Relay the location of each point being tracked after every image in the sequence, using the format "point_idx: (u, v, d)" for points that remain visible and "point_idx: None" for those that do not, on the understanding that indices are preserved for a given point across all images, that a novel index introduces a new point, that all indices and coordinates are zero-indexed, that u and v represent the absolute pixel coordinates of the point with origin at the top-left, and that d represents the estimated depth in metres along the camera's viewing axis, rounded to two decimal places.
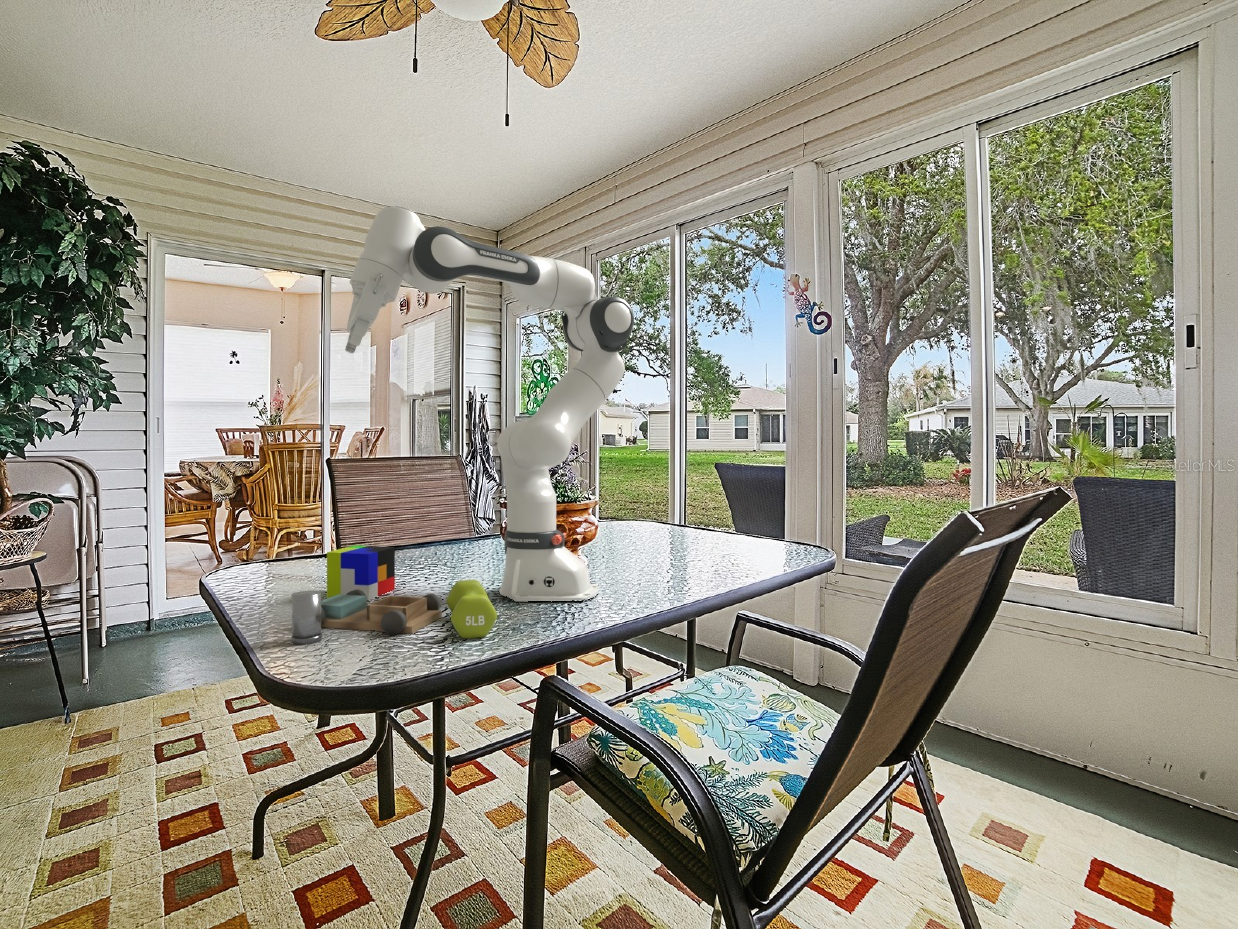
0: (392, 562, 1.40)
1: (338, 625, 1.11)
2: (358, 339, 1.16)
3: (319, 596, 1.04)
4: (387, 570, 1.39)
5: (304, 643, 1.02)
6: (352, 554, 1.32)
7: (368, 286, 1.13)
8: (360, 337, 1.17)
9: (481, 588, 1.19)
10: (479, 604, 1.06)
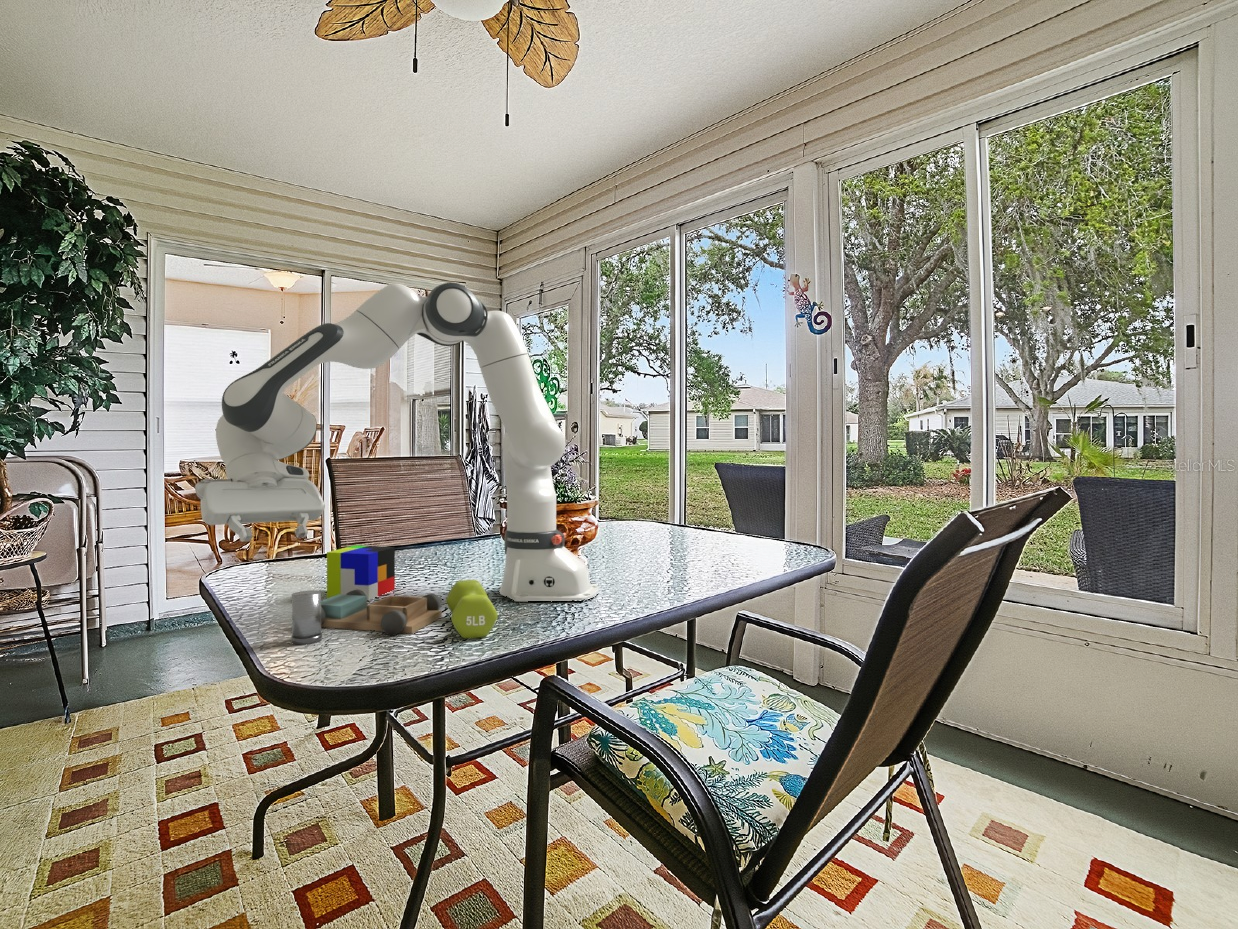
0: (392, 562, 1.40)
1: (338, 625, 1.11)
2: (241, 533, 1.08)
3: (319, 596, 1.04)
4: (387, 570, 1.39)
5: (304, 643, 1.02)
6: (352, 555, 1.32)
7: None
8: (241, 530, 1.08)
9: (481, 588, 1.19)
10: (480, 604, 1.06)
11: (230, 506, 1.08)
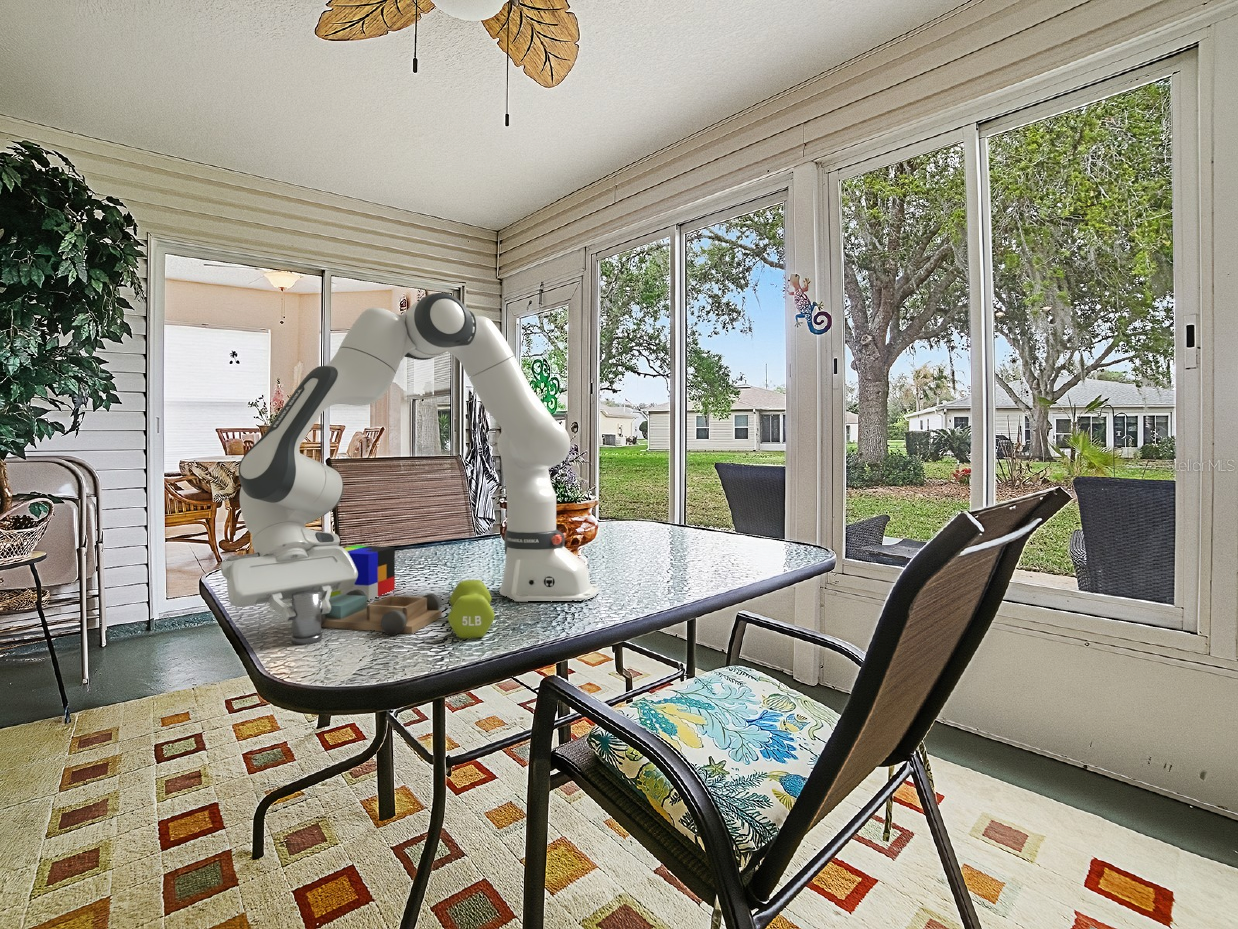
0: (392, 562, 1.40)
1: (338, 625, 1.11)
2: (284, 612, 1.01)
3: (319, 596, 1.04)
4: (387, 570, 1.39)
5: (304, 643, 1.02)
6: (352, 555, 1.32)
7: (227, 579, 1.01)
8: (283, 609, 1.01)
9: (484, 588, 1.19)
10: (476, 604, 1.06)
11: (259, 586, 1.00)
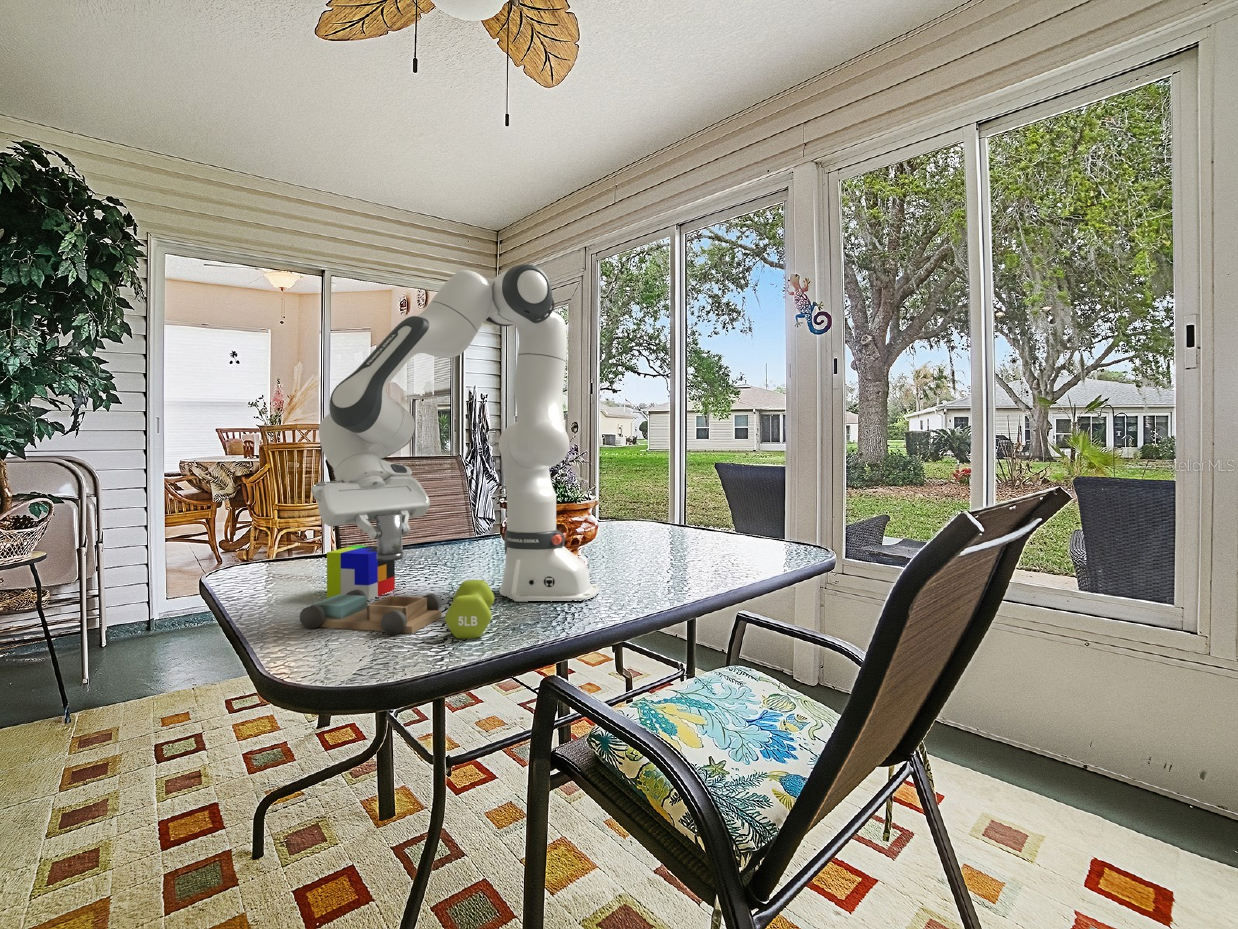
0: (392, 562, 1.40)
1: (338, 625, 1.11)
2: (370, 531, 1.11)
3: (400, 517, 1.13)
4: (387, 570, 1.39)
5: (389, 559, 1.11)
6: (352, 554, 1.32)
7: (317, 502, 1.11)
8: (370, 528, 1.11)
9: (486, 588, 1.19)
10: (472, 604, 1.05)
11: (348, 507, 1.10)
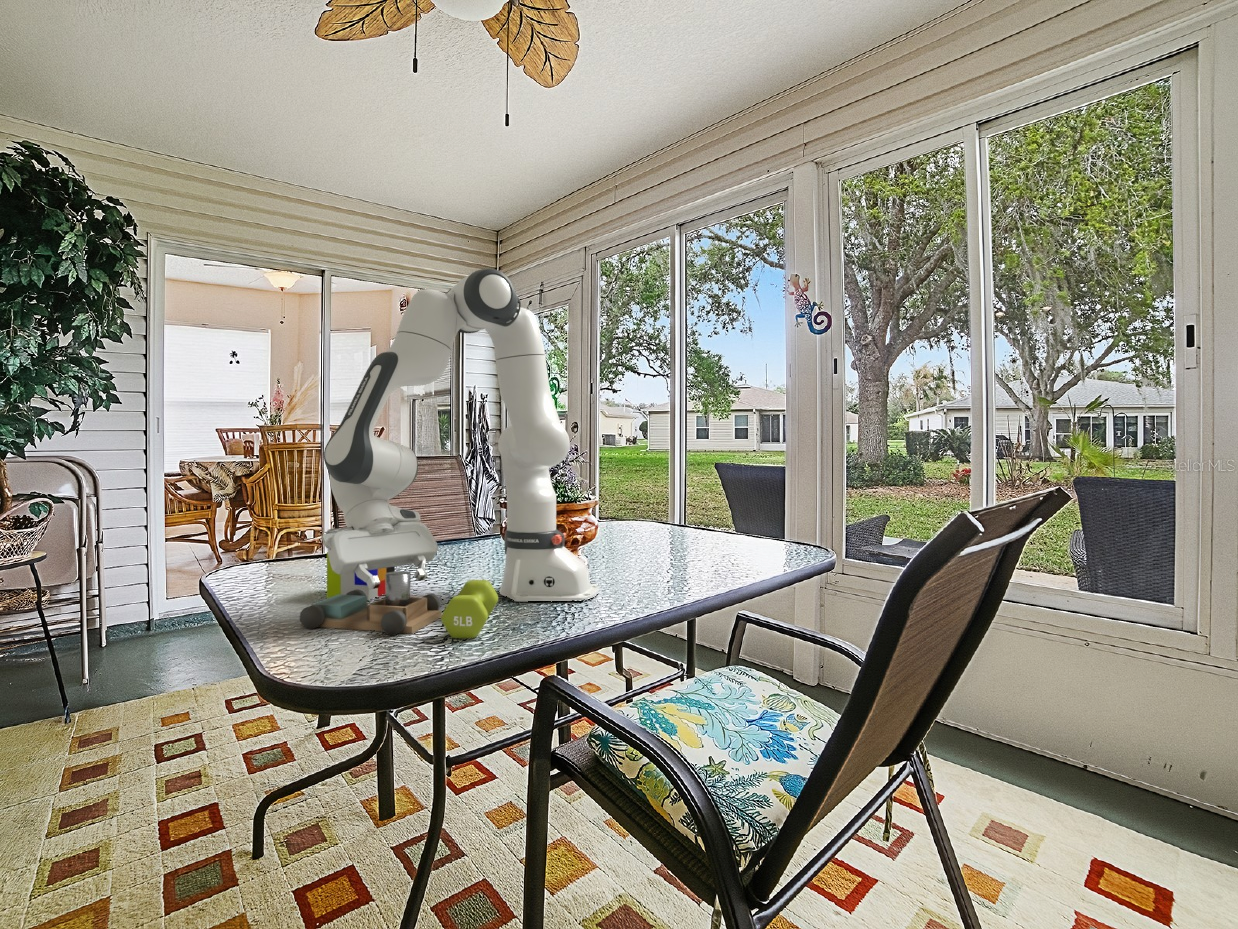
0: None
1: (338, 625, 1.11)
2: (370, 581, 1.11)
3: (409, 576, 1.15)
4: (387, 570, 1.39)
5: None
6: None
7: (328, 550, 1.12)
8: (369, 578, 1.11)
9: (489, 589, 1.18)
10: (467, 604, 1.05)
11: (357, 555, 1.11)
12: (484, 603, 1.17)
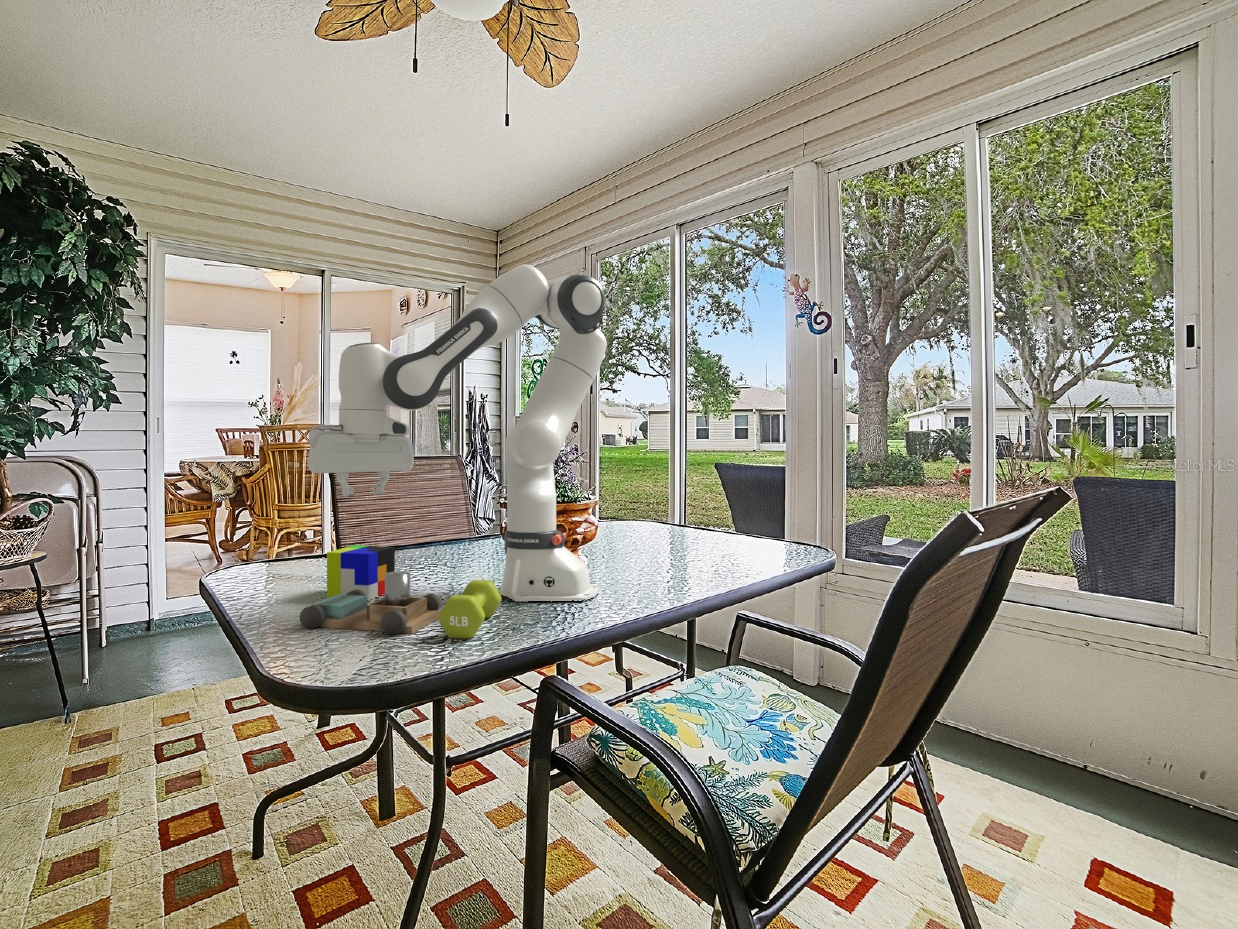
0: (392, 562, 1.40)
1: (338, 625, 1.11)
2: (345, 490, 1.20)
3: (409, 576, 1.15)
4: (387, 570, 1.39)
5: None
6: (352, 555, 1.32)
7: None
8: (345, 488, 1.20)
9: (491, 589, 1.18)
10: (463, 605, 1.05)
11: (335, 466, 1.17)
12: (486, 603, 1.17)
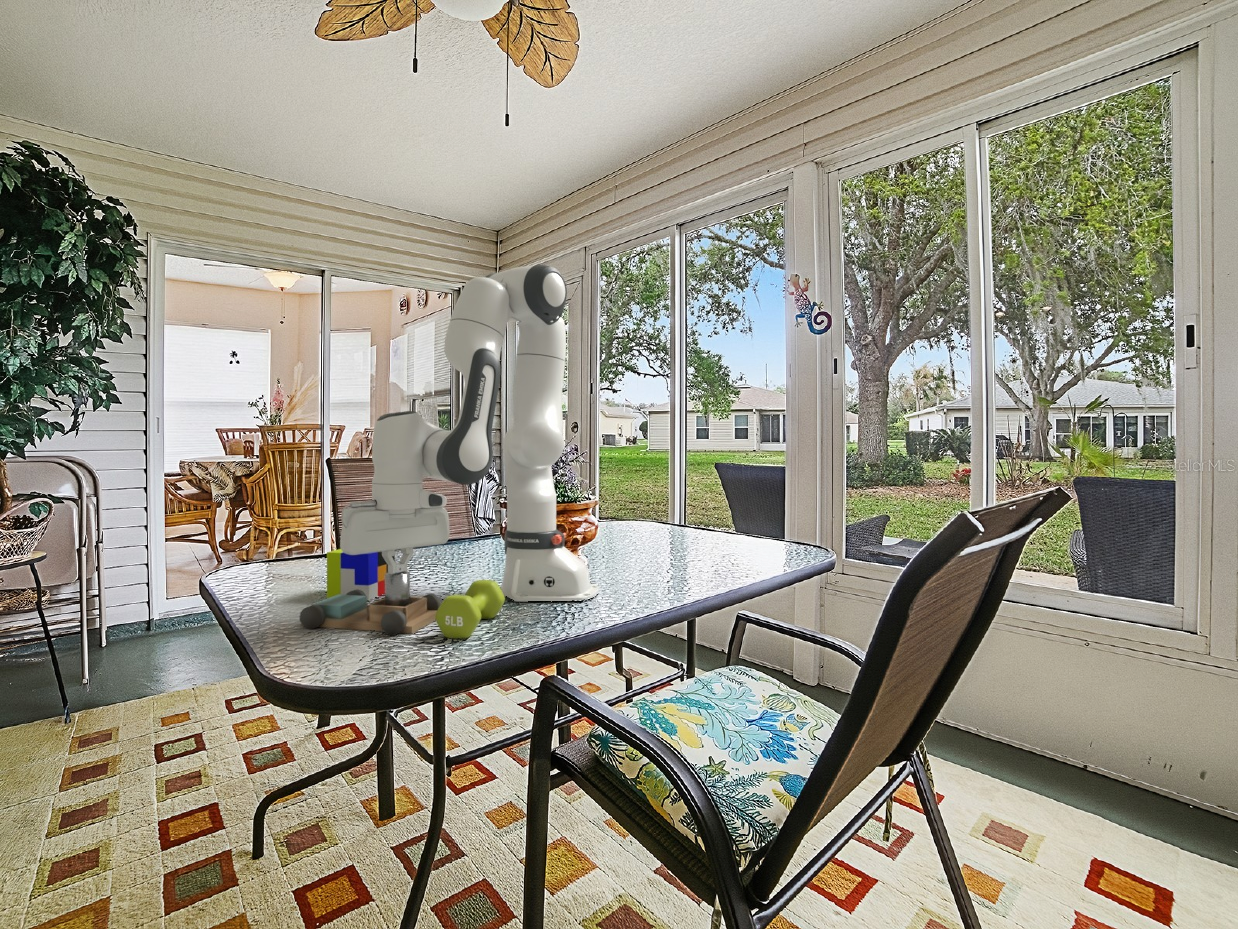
0: None
1: (338, 625, 1.11)
2: (391, 568, 1.13)
3: (408, 576, 1.15)
4: (387, 570, 1.39)
5: None
6: (352, 555, 1.32)
7: None
8: (392, 566, 1.13)
9: (494, 589, 1.18)
10: (458, 605, 1.05)
11: (368, 546, 1.09)
12: (488, 604, 1.17)
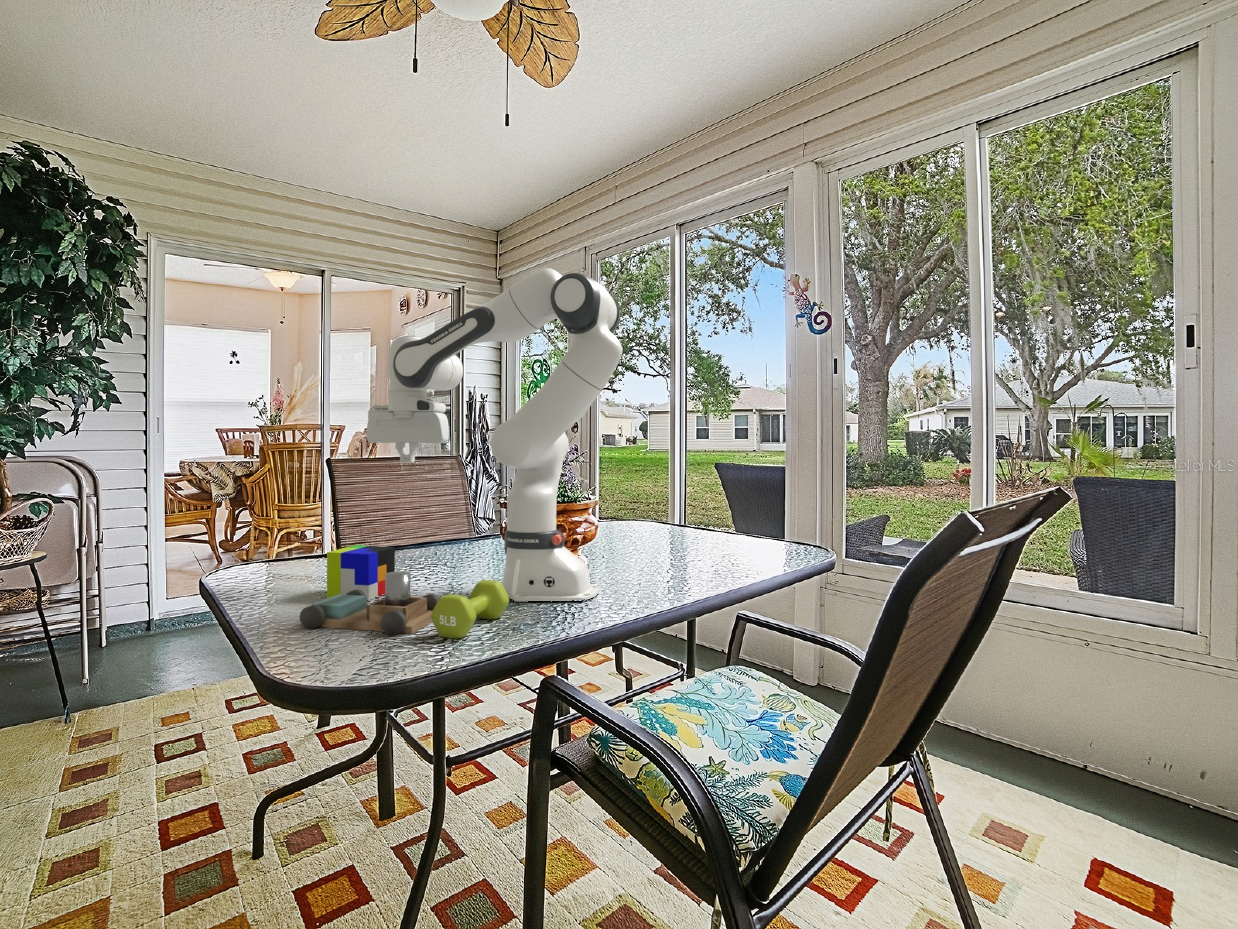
0: (392, 562, 1.40)
1: (338, 625, 1.11)
2: None
3: (409, 576, 1.15)
4: (387, 570, 1.39)
5: None
6: (352, 554, 1.32)
7: None
8: None
9: (497, 590, 1.17)
10: (452, 604, 1.05)
11: (378, 437, 1.49)
12: (490, 604, 1.16)
